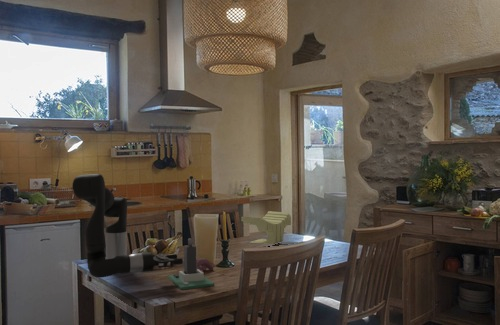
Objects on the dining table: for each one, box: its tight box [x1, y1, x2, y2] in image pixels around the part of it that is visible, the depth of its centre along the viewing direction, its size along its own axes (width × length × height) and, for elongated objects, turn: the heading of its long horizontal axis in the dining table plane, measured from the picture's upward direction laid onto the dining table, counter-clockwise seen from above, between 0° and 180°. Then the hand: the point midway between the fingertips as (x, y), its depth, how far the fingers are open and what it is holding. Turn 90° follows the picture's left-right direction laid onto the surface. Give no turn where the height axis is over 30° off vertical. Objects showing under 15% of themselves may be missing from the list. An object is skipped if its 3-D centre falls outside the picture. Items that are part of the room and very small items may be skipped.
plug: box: [183, 238, 197, 274], centre depth 200 cm, size 4×5×17 cm
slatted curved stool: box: [241, 210, 292, 244], centre depth 281 cm, size 30×16×18 cm, turn 147°
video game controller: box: [196, 257, 214, 272], centre depth 218 cm, size 10×5×7 cm, turn 142°
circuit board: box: [167, 269, 215, 291], centre depth 200 cm, size 20×14×4 cm
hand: (179, 258), depth 199 cm, fingers open, 8 cm apart
